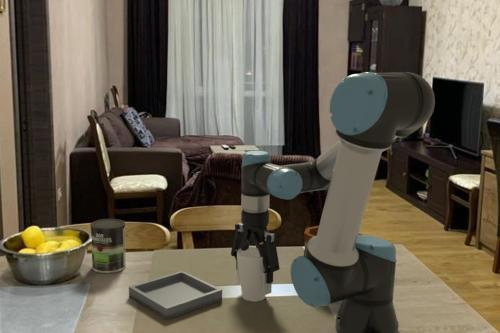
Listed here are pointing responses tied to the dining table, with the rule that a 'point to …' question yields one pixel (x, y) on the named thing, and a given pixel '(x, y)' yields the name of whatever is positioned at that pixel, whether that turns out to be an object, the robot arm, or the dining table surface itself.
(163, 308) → the tray
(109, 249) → the coffee can
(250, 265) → the foam cup
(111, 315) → the dining table surface
